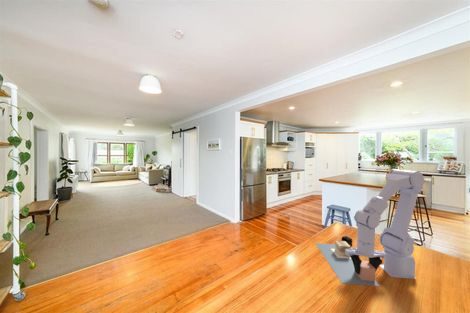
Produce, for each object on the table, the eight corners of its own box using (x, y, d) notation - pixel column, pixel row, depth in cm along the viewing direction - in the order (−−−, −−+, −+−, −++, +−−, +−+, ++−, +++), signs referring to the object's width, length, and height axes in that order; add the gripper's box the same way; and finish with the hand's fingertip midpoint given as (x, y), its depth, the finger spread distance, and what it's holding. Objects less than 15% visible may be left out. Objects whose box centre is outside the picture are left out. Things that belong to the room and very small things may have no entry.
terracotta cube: (367, 272, 76) (367, 261, 75) (375, 281, 71) (375, 268, 70) (354, 271, 76) (354, 260, 76) (361, 280, 71) (361, 267, 71)
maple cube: (345, 250, 92) (345, 241, 91) (350, 256, 87) (350, 246, 86) (334, 250, 92) (335, 240, 92) (339, 256, 87) (339, 245, 87)
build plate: (332, 241, 104) (332, 233, 104) (342, 239, 106) (342, 232, 106) (352, 253, 92) (352, 244, 92) (362, 250, 94) (363, 242, 94)
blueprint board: (341, 245, 98) (342, 244, 98) (380, 287, 68) (380, 285, 68) (315, 244, 99) (315, 242, 99) (341, 284, 70) (341, 282, 70)
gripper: (378, 237, 76) (376, 268, 77) (341, 235, 78) (340, 265, 78) (390, 245, 69) (389, 280, 70) (350, 243, 71) (349, 277, 71)
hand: (364, 273), depth 73 cm, fingers closed on terracotta cube, 5 cm apart
